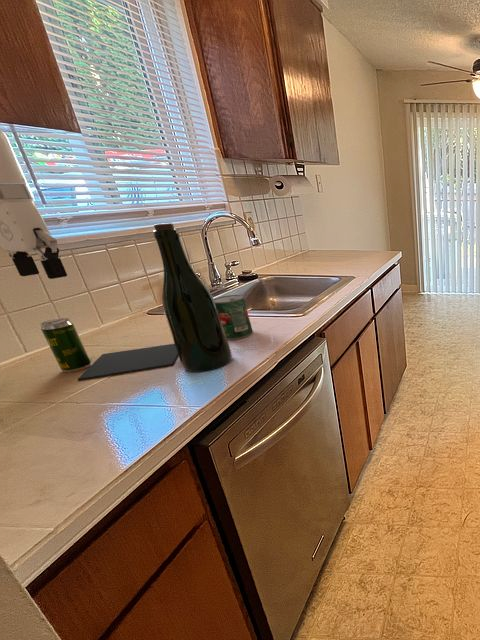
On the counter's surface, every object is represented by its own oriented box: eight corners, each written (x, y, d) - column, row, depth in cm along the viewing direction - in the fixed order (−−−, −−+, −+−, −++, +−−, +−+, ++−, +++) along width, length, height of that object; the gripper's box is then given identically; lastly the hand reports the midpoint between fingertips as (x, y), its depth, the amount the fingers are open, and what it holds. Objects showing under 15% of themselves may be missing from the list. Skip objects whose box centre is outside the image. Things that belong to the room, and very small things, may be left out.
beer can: (82, 362, 100) (61, 317, 95) (97, 364, 99) (76, 318, 94) (56, 371, 96) (32, 324, 91) (71, 374, 94) (48, 326, 89)
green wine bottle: (186, 360, 100) (137, 222, 87) (233, 352, 105) (194, 220, 91) (180, 376, 92) (125, 227, 78) (232, 367, 96) (189, 223, 83)
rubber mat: (78, 380, 91) (77, 378, 91) (103, 355, 104) (102, 353, 104) (172, 365, 98) (172, 363, 98) (184, 343, 111) (184, 342, 111)
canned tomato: (216, 339, 114) (204, 301, 109) (236, 329, 121) (225, 294, 116) (240, 340, 113) (229, 302, 108) (259, 330, 120) (249, 295, 115)
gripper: (-45, 194, 82) (-2, 277, 89) (8, 194, 77) (48, 282, 84) (4, 193, 88) (40, 270, 95) (55, 193, 83) (89, 275, 91)
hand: (44, 276), depth 90 cm, fingers open, 9 cm apart
